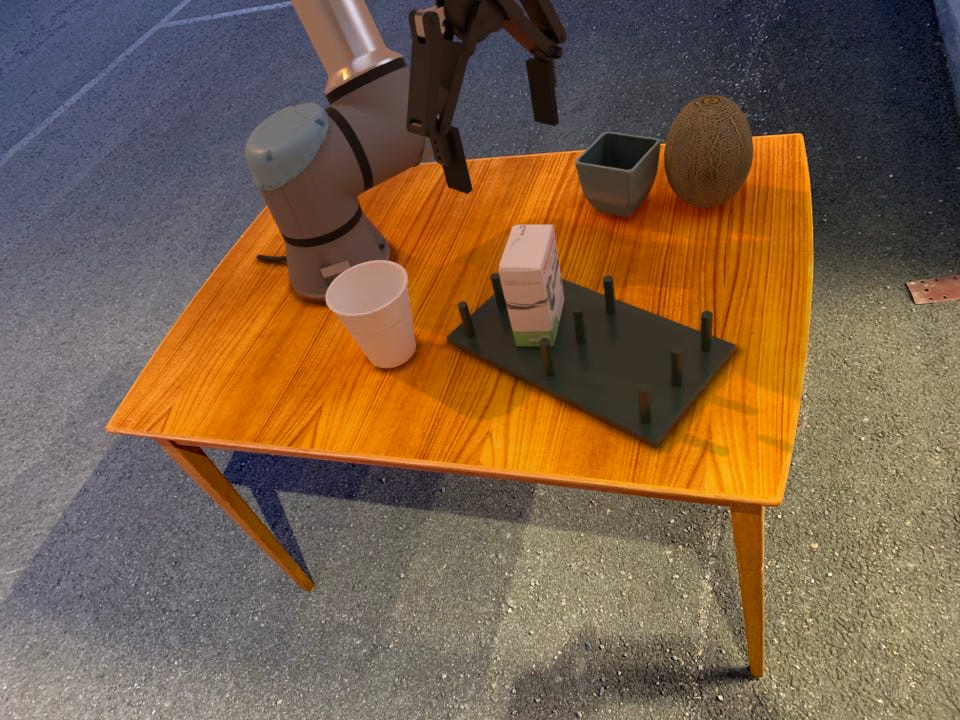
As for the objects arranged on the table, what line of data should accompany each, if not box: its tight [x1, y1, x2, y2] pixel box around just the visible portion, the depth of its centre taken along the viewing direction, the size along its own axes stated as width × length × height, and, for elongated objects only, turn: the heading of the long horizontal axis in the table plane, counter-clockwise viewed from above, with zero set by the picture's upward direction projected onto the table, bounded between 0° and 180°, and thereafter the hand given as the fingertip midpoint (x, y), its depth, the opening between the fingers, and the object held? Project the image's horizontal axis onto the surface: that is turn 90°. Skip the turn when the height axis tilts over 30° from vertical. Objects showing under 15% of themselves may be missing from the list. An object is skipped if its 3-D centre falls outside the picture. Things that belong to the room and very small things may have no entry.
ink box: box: [497, 223, 564, 347], centre depth 81 cm, size 9×5×12 cm, turn 167°
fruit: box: [663, 94, 754, 209], centre depth 92 cm, size 11×11×15 cm
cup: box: [325, 260, 417, 369], centre depth 84 cm, size 10×10×11 cm
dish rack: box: [445, 272, 737, 449], centre depth 80 cm, size 30×16×6 cm, turn 48°
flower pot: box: [574, 131, 662, 218], centre depth 97 cm, size 9×9×9 cm
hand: (505, 154), depth 70 cm, fingers open, 13 cm apart
